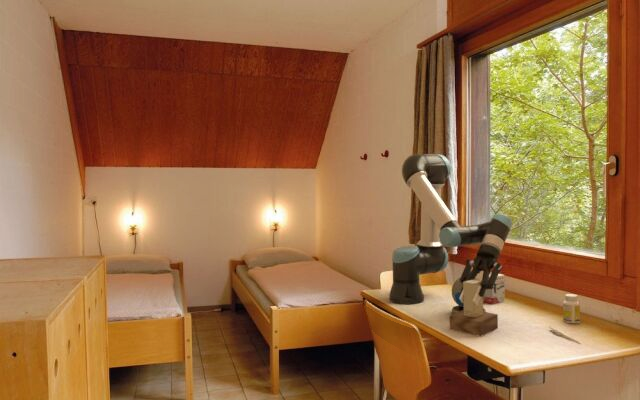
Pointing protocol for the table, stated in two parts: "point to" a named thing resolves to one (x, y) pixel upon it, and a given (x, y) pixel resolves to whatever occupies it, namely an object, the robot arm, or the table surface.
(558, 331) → the beige slender tapered piece
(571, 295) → the supplement bottle
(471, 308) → the skincare box
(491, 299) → the ink box
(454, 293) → the webcam
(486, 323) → the walnut plinth
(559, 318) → the table surface
